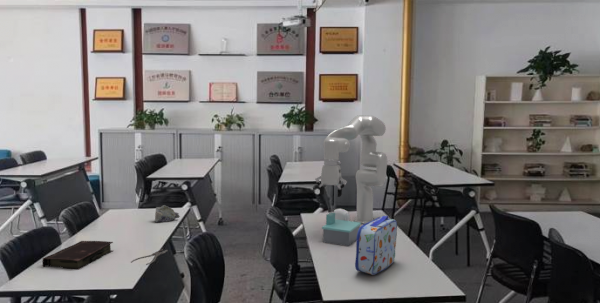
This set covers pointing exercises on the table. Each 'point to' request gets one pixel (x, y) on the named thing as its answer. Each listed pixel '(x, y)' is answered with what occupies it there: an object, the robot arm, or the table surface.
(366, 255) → the lunch box
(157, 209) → the mineral rock
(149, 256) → the pliers
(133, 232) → the table surface
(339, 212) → the photo printer
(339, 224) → the lid
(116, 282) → the table surface
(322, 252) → the table surface
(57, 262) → the diary
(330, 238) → the tub
